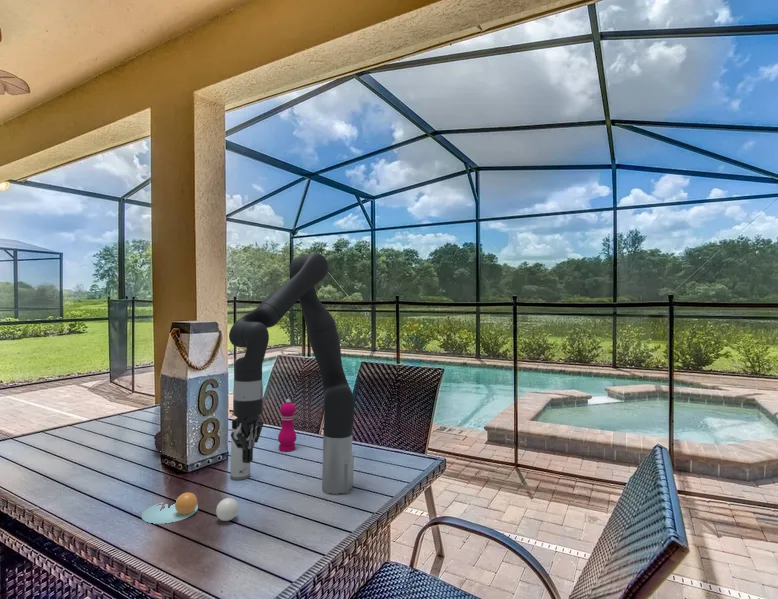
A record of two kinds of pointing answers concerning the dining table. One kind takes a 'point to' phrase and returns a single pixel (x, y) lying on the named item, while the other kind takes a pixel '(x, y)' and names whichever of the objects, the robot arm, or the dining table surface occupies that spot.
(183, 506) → the object ball
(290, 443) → the pepper mill
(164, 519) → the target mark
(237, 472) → the travel mug
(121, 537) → the dining table surface
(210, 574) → the dining table surface
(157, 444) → the pine cone
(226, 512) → the cue ball
